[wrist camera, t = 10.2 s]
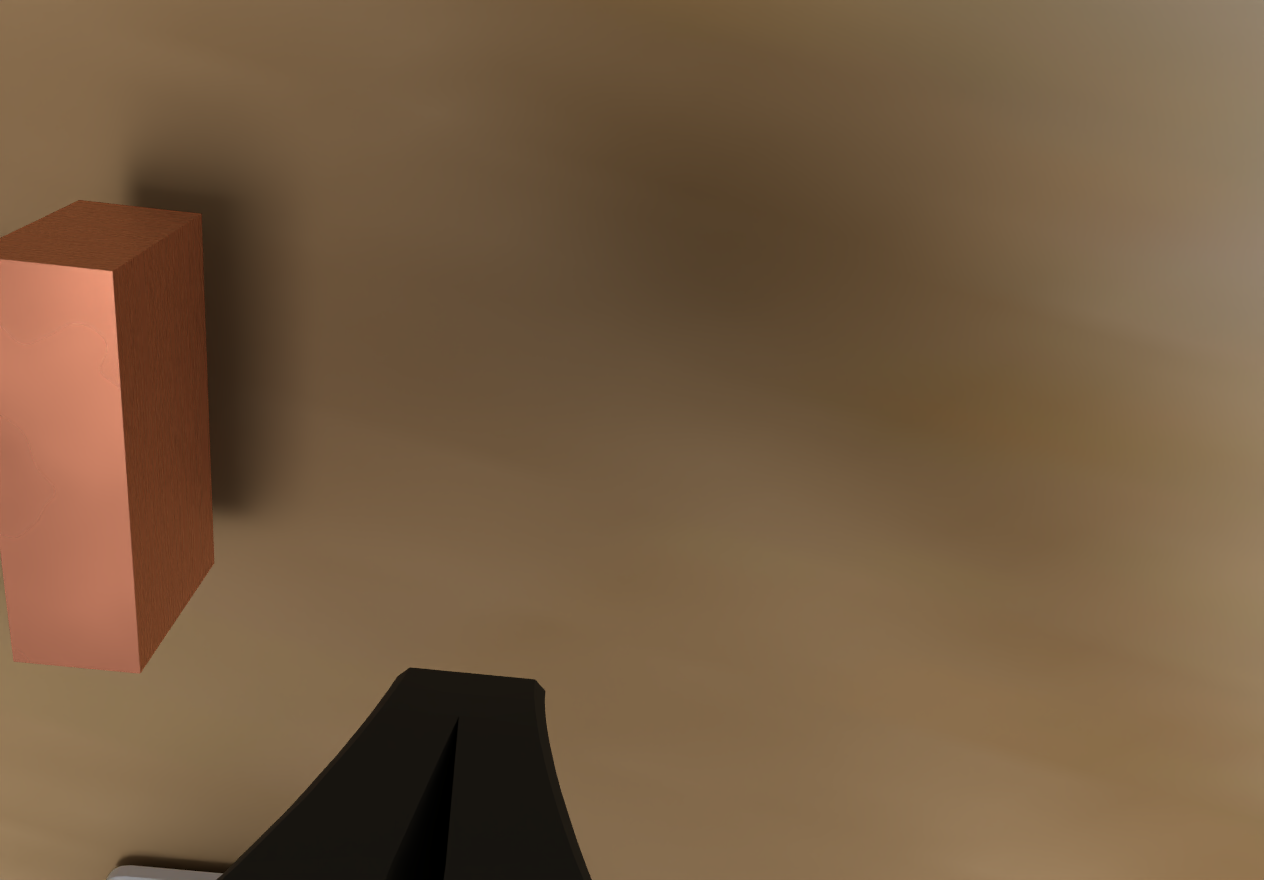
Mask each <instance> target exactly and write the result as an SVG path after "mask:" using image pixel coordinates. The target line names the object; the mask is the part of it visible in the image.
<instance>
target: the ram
mask: <svg viewBox="0 0 1264 880" xmlns="http://www.w3.org/2000/svg"><path fill="white" fill-rule="evenodd" d="M0 553H1V561H2V569H3V577H4V586H5V594H6V602H7V610H8V619H9V627H10V635H11V644H12V652H13V660H14V662H25V663H36V664H46V665H57V666H67V667H78V668H88V669H99V670H109V671H120V672H130V673H141V672H142V670H143V669H144V667H145V666H146V664H147V663H148V661H149V660H150V658H151V657H152V655H153V654H154V652H155V651H156V649H157V648H158V646H159V645H160V643H161V642H162V640H163V639H164V637H165V636H166V634H167V633H168V631H169V630H170V628H171V627H172V625H173V624H174V622H175V621H176V619H177V618H178V616H179V615H180V613H181V612H182V610H183V609H184V607H185V606H186V604H187V603H188V601H189V600H190V598H191V597H192V595H193V594H194V593H195V591H196V590H197V588H198V587H199V585H200V584H201V582H202V581H203V579H204V578H205V576H206V575H207V573H208V572H209V570H210V569H211V567H212V566H213V564H214V542H213V515H212V487H211V460H210V433H209V405H208V378H207V350H206V323H205V296H204V268H203V241H202V214H199V213H190V212H181V211H172V210H163V209H154V208H145V207H136V206H127V205H118V204H109V203H101V202H92V201H83V200H78V201H76V202H74V203H72V204H70V205H68V206H66V207H64V208H62V209H60V210H58V211H55V212H53V213H51V214H49V215H47V216H45V217H43V218H41V219H39V220H37V221H35V222H33V223H31V224H28V225H26V226H24V227H22V228H20V229H18V230H16V231H14V232H12V233H10V234H8V235H6V236H3V237H1V238H0Z"/></svg>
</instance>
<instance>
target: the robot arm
mask: <svg viewBox="0 0 1264 880" xmlns="http://www.w3.org/2000/svg"><path fill="white" fill-rule="evenodd" d="M106 880H592V879H591V877H590V874H589V872H588V869H587V867H586V864H585V861H584V859H583V856H582V853H581V851H580V848H579V845H578V842H577V839H576V836H575V833H574V830H573V827H572V824H571V821H570V818H569V815H568V811H567V808H566V805H565V802H564V799H563V796H562V793H561V789H560V785H559V782H558V778H557V774H556V770H555V766H554V761H553V757H552V752H551V748H550V743H549V737H548V732H547V725H546V717H545V690H544V689H543V688H542V687H541V686H540V685H539V683H538V682H537V681H536V680H534V679H524V678H513V677H503V676H492V675H482V674H472V673H461V672H451V671H441V670H430V669H420V668H409V669H407V670H406V671H404V672H403V673H402V674H400V675H399V676H398V677H397V678H396V680H395V681H394V682H393V684H392V685H391V687H390V688H389V690H388V691H387V693H386V694H385V695H384V697H383V698H382V699H381V701H380V702H379V703H378V705H377V706H376V707H375V709H374V710H373V711H372V713H371V714H370V715H369V717H368V718H367V719H366V720H365V722H364V723H363V724H362V725H361V727H360V728H359V729H358V730H357V732H356V733H355V734H354V735H353V736H352V738H351V739H350V740H349V741H348V742H347V744H346V745H345V746H344V747H343V749H342V750H341V751H340V752H339V753H338V754H337V756H336V757H335V758H334V759H333V760H332V761H331V762H330V763H329V765H328V766H327V767H326V768H325V769H324V770H323V771H322V772H321V774H320V775H319V776H318V777H317V778H316V779H315V780H314V781H313V782H312V784H311V785H310V786H309V787H308V788H307V789H306V790H305V791H304V793H303V794H302V795H301V796H300V797H299V798H298V799H297V800H296V801H295V802H294V804H293V805H292V806H291V807H290V808H289V809H288V810H287V811H286V812H285V813H284V814H283V815H282V816H281V817H280V818H279V819H278V820H277V821H276V822H275V823H274V824H273V825H272V826H271V827H270V828H269V829H268V830H267V831H266V832H265V833H264V834H263V835H262V836H261V837H260V838H259V839H258V840H257V841H256V842H255V843H254V844H253V845H252V846H251V847H250V848H249V849H248V850H247V851H246V852H245V853H244V854H243V855H242V856H241V857H240V858H239V859H238V860H237V861H236V862H235V863H234V864H233V865H232V866H230V867H229V868H228V869H227V870H226V871H225V872H224V873H213V872H201V871H190V870H179V869H167V868H156V867H145V866H133V865H127V866H120V867H117V868H115V869H113V870H112V871H111V873H110V874H109V875H108V877H107V879H106Z"/></svg>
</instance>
